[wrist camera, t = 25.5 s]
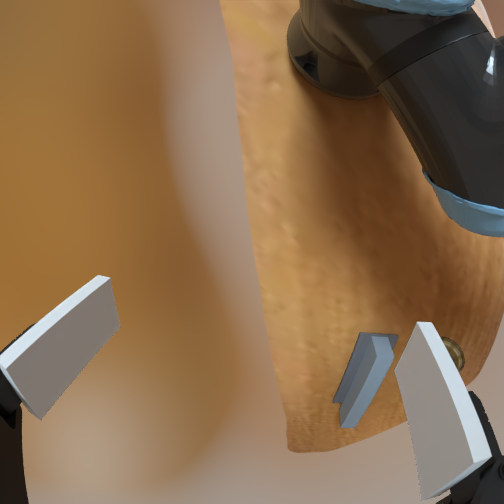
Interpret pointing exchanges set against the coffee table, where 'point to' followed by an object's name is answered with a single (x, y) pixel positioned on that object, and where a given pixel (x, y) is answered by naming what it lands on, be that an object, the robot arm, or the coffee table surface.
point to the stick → (366, 381)
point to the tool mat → (357, 362)
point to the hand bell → (454, 353)
